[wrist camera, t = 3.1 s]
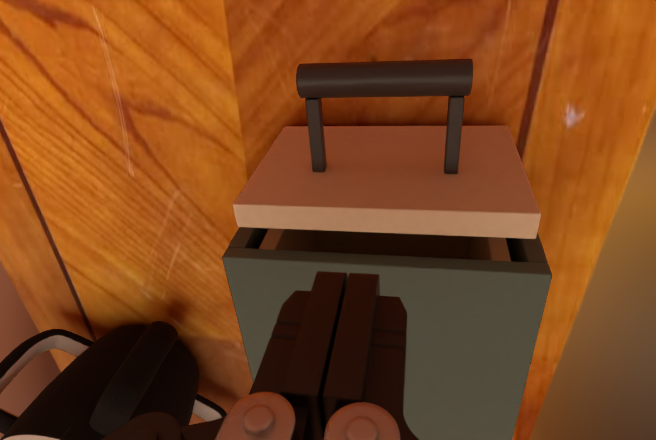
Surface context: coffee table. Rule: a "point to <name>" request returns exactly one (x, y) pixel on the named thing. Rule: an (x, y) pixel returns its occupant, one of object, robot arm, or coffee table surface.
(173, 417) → the robot arm
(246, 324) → the cabinet
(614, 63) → the coffee table surface
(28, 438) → the mug
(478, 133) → the drawer
